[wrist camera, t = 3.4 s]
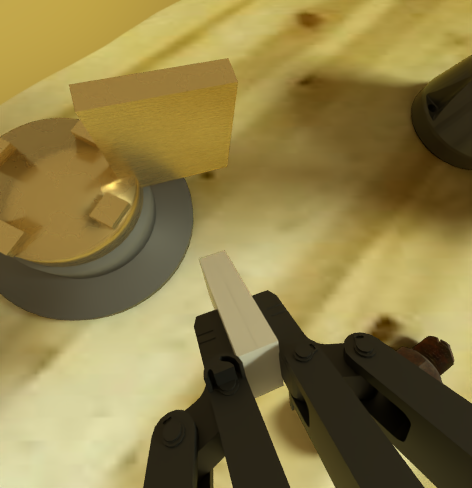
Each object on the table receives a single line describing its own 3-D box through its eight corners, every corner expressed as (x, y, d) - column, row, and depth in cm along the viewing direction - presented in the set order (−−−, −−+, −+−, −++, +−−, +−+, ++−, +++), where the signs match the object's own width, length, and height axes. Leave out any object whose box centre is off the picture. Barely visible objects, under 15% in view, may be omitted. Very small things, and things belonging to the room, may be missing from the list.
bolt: (418, 350, 32) (321, 428, 28) (412, 317, 30) (308, 394, 26) (476, 382, 26) (366, 483, 22) (472, 344, 25) (353, 445, 21)
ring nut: (4, 286, 22) (-171, 259, 12) (-13, 156, 25) (-166, 43, 15) (243, 218, 26) (267, 153, 16) (205, 112, 29) (203, -1, 19)
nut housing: (112, 106, 34) (97, 71, 29) (231, 224, 31) (236, 207, 27) (-57, 213, 28) (-111, 192, 23) (71, 368, 26) (40, 380, 21)
